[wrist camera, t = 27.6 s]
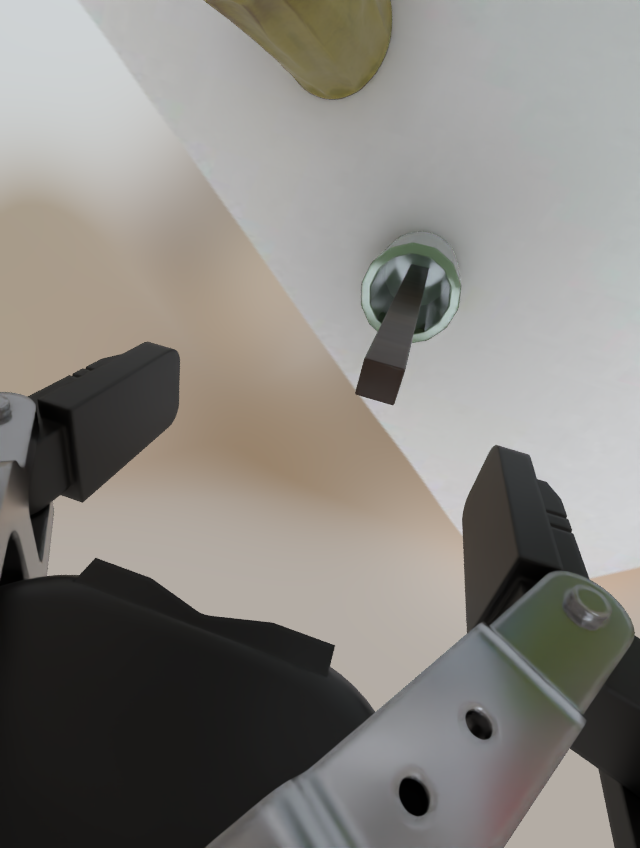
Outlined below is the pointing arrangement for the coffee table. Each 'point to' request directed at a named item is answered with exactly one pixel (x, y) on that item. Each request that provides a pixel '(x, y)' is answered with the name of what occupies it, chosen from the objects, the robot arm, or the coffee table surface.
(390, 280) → the holder
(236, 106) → the coffee table surface
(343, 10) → the vase
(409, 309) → the stirring stick
